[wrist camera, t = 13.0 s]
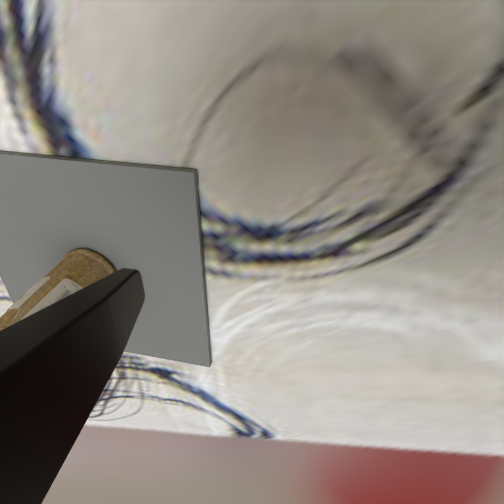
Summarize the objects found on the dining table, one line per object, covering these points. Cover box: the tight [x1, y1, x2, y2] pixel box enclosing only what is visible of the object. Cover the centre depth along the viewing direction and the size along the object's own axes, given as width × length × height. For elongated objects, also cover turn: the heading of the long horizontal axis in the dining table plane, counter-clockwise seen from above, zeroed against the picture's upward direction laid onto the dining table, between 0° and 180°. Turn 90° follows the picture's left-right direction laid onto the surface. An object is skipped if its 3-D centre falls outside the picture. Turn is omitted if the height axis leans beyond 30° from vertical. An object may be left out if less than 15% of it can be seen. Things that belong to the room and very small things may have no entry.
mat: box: [0, 151, 212, 367], centre depth 28 cm, size 18×18×1 cm
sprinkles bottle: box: [0, 249, 115, 330], centre depth 22 cm, size 5×5×14 cm
